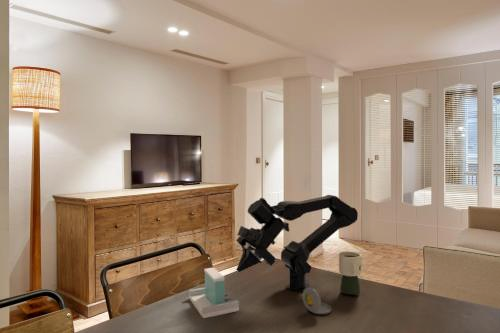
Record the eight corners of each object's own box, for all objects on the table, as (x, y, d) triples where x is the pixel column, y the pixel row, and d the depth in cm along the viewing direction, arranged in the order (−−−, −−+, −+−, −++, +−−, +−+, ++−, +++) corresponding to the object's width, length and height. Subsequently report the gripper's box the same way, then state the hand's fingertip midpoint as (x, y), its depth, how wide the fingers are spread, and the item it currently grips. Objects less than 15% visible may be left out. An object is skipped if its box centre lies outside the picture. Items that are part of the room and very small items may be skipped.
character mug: (365, 300, 114) (366, 259, 113) (343, 300, 114) (343, 259, 113) (356, 286, 125) (356, 249, 124) (335, 286, 125) (335, 249, 124)
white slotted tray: (221, 292, 121) (221, 284, 121) (238, 310, 107) (238, 301, 107) (189, 298, 116) (189, 290, 116) (203, 318, 103) (203, 308, 103)
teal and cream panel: (214, 292, 117) (213, 267, 117) (225, 305, 108) (224, 277, 108) (204, 294, 116) (204, 268, 116) (215, 307, 107) (214, 279, 106)
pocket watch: (332, 307, 109) (332, 274, 108) (329, 319, 101) (329, 284, 101) (305, 303, 112) (305, 271, 111) (300, 315, 104) (299, 281, 103)
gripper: (241, 212, 125) (211, 248, 121) (265, 222, 108) (231, 264, 104) (261, 232, 128) (233, 267, 124) (288, 245, 111) (256, 286, 107)
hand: (237, 270), depth 115 cm, fingers closed
